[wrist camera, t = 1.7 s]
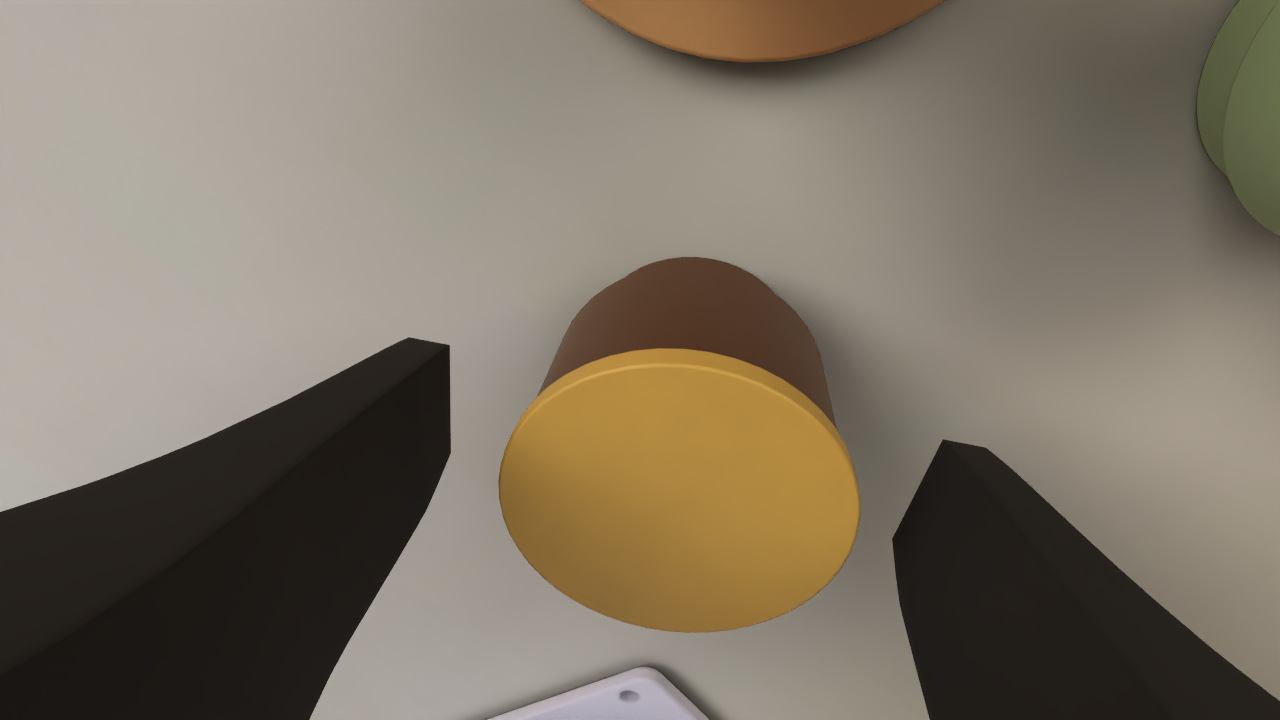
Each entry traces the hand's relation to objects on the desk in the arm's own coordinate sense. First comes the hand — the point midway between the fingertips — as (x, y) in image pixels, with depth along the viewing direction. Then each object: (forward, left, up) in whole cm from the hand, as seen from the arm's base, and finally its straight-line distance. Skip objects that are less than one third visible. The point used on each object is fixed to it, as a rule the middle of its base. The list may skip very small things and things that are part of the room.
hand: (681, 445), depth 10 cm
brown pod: (0, 0, -3) cm, 3 cm away
